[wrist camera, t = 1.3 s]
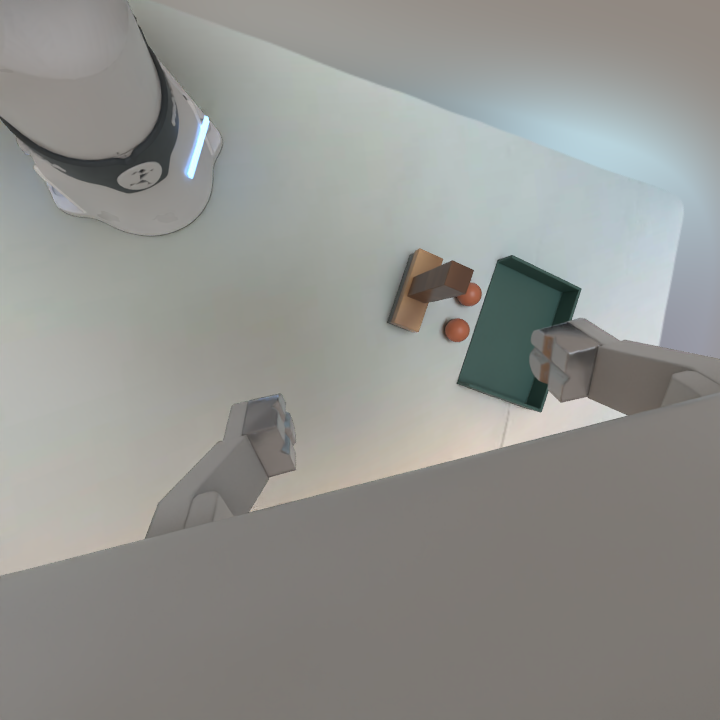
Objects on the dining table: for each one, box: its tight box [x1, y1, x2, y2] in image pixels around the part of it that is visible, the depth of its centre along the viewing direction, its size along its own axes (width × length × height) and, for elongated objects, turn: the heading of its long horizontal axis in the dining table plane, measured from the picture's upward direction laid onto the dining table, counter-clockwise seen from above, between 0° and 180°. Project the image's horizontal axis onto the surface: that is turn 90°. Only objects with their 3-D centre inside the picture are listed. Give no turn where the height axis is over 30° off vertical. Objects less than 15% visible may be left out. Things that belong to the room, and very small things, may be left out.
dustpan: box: [457, 255, 581, 412], centre depth 52 cm, size 21×19×3 cm
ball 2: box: [445, 318, 470, 342], centre depth 49 cm, size 3×3×3 cm
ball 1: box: [457, 282, 482, 306], centre depth 49 cm, size 3×3×3 cm
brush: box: [387, 248, 474, 332], centre depth 42 cm, size 4×10×13 cm, turn 160°
